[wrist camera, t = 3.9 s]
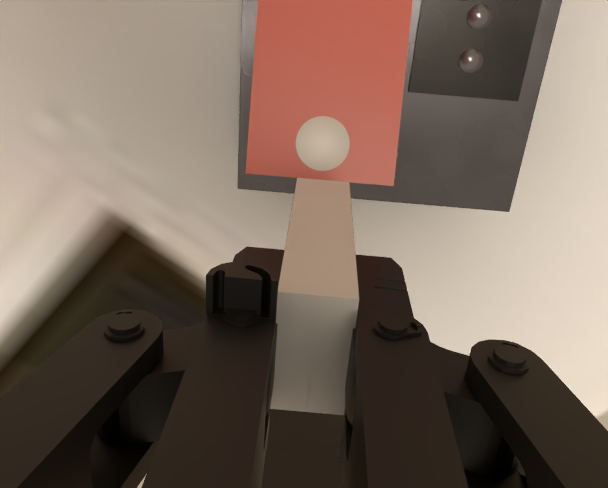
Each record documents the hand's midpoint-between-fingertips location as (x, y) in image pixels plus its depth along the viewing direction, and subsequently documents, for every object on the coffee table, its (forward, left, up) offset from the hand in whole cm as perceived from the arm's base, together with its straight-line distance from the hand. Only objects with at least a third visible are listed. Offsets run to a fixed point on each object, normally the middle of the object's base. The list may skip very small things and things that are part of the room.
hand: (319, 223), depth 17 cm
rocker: (-4, 0, -6) cm, 8 cm away
